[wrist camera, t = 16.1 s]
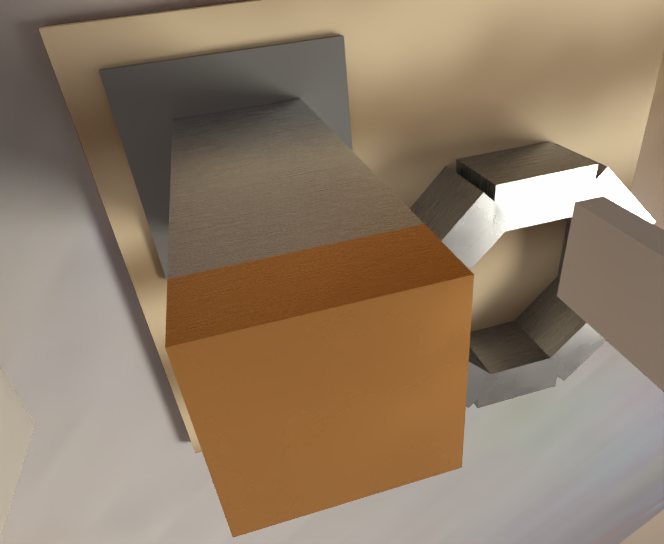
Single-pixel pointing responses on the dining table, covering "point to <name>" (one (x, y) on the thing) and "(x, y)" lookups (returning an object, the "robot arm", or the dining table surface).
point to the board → (398, 105)
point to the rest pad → (216, 104)
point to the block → (308, 318)
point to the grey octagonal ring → (508, 214)
